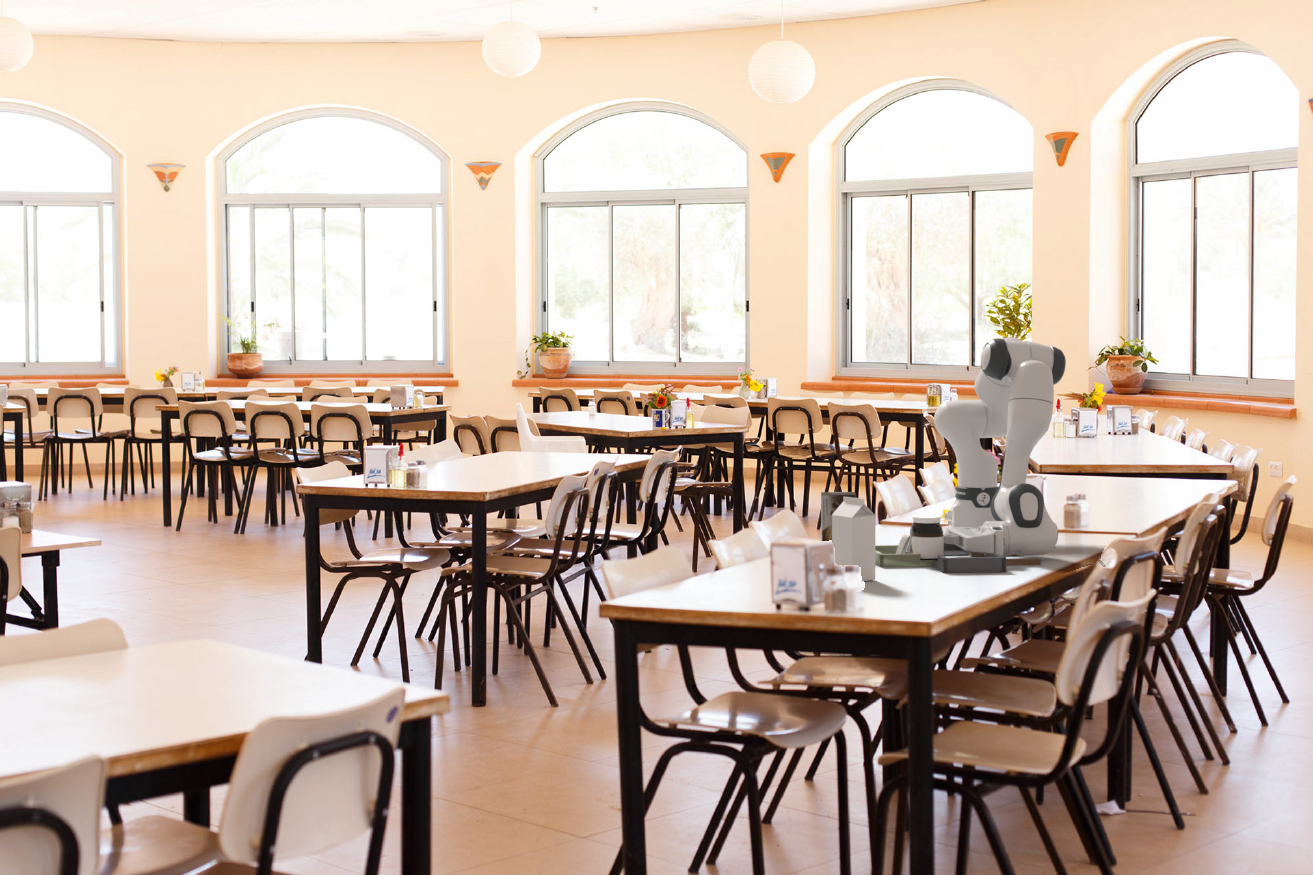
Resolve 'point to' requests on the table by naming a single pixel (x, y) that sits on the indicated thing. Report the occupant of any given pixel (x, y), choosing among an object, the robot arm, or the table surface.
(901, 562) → the lane
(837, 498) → the coffee box
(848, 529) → the milk carton
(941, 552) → the spread jar
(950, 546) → the grey open tray
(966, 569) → the dark grey shallow tray
